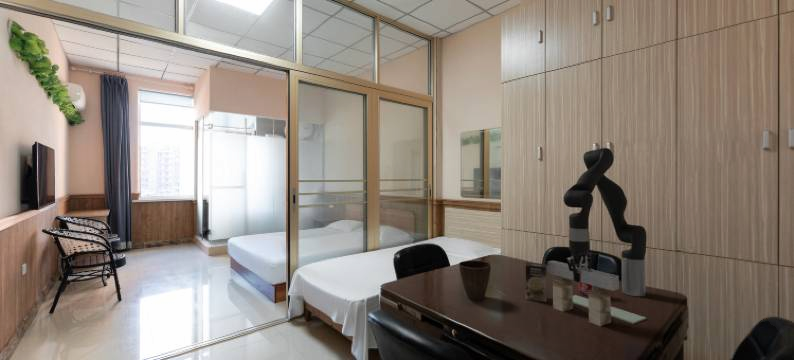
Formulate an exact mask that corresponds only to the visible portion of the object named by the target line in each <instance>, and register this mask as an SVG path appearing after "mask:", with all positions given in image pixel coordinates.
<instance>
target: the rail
mask: <svg viewBox="0 0 794 360" xmlns="http://www.w3.org/2000/svg"><path fill="white" fill-rule="evenodd" d="M592 269H593V268H590V269H588V268H584V267H581V268H580V271H579V273H580V282H583V283H586V284H590V285H594V286H596V288H603V289H606V290H610V291H612V292H613V291H616V290H620V281H619V277H620V275H617V274H613V273H609V272H603V271H600V270H595V269H593V270H592ZM576 270H577V267H576ZM547 273H548V274H550V275H555V276H558V277H561V278H563V277H564V278H567V279H571V280H572V281H574V279H573V278H574V276H573V272H572V271H569V267H568V263H566V262H561V261H557V260H549V261H547Z"/></svg>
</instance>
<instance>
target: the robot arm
mask: <svg viewBox="0 0 794 360" xmlns="http://www.w3.org/2000/svg"><path fill="white" fill-rule="evenodd" d="M614 159H615V158H614V154H613V151H612V150H611V149H610V148H608V147H602V148H597V149H593V150H588V151H586V152H585V153H583V163H584V165H585V167H586V170H585V171H584V172H583V173H582V174H581V175H579V177H578V179H577V181H576V183H575V184H573V185H572V186H571V187H569V189H568V190H566V191H565V193H564V195H563V203H564V205H565V206H566V207H568V208H580V212H575V213H571V214H569V216H568V221H569V222H568V224H569V230H568V246H569V247H568V249H569V250H570V251H571V254H570V255H571V256H570V257H566V262H567V264H568V267H569V271H572V272H573V276H574V278H573V279H574V280H573V281H574V282H575V283H579V282H580V273H579V271H580V268H581V267H584V268H588V269H592V268H591V267H592V262H593V257H594V255H593V254H591V253H589V252H590V251H591V243H590V242H591V241H590V239H591V238H590V237H591V236H590V235H591V234H590V229H589V228H590V226H589V223H590V222H589V218H590V213H591V209H592V205H593V203H594V196H593V194H592V193H593V192H594V190H595V188H596V187H597V189H598V192H599V194H600V197H601V200H603V204H604V205H605V208H606V209H607V211H608V214H609V217H610V220H611V222H612V226H613V227H614V231H615V235H616V237H617V239H618V240H619V241H620V242H622V243H625V244H630V245H631V246H630V248H629V249H624V250H622V251H621V253H620V254H621V255H620V256H621V292H622V293H623V294H624V295H625V294H626V295H628V296H632V297H645V296H646V294H647V293H646V291H647V290H646V267H645V266H646V262H645V260H646V259H645V257H646V253H647V239H648V238H647V231H646V229H645V228H644V226H642V225H637V224H636V225H635V224H630V223H629V224H628V223H627V221H626V218H625V211H626V209H627V205H628V199H627V197H626V195H625V192H624V190H623V188H622V187H621V186H620V185H619V184H617V183H616V182H615V181H613V180H612V179H610V178H609V177H607V176H606V175H605V174H606V173H607V171H608V170H609V169H610V168H611V167H612V166H613V164H614ZM576 267H577V270H576Z"/></svg>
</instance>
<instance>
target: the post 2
mask: <svg viewBox="0 0 794 360" xmlns="http://www.w3.org/2000/svg"><path fill="white" fill-rule="evenodd" d="M587 297H588V298H587V299H589V308H588V323H591V324H594V325H596V326H598V327H601V326H606V325H607V324H611V323H612V322H611V321H612V316H611V307H612V306H611V290H608V289H604V288H601V287H597V291H596V292H595V291H592V290H588V296H587Z"/></svg>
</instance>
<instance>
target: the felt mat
mask: <svg viewBox="0 0 794 360" xmlns="http://www.w3.org/2000/svg"><path fill="white" fill-rule="evenodd" d="M574 304H575V305H577V306H581V307H584V308H586V309H589V299H588V298H585V297H583V296H580V295H577V294H574V295H573V305H574ZM612 317H613V318H615V319H618V320H621V321H624V322H626V323H629V324H636V323H639V322H642V321H645V320H647V317H646V316H642V315H639V314H636V313H632V312H630V311H626V310H623V309H620V308H617V307H614V306H611V318H612Z"/></svg>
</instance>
